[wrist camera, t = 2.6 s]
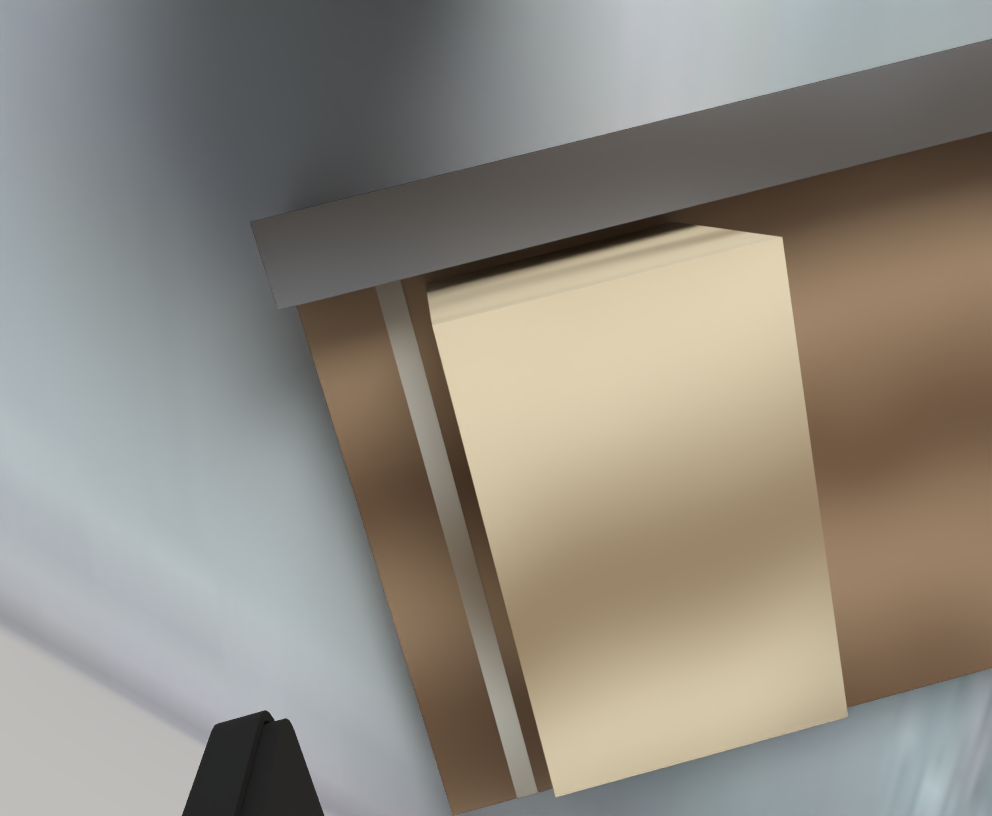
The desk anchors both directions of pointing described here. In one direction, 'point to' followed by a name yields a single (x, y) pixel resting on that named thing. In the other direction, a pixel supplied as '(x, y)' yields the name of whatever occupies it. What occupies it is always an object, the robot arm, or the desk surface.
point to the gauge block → (647, 494)
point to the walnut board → (821, 348)
